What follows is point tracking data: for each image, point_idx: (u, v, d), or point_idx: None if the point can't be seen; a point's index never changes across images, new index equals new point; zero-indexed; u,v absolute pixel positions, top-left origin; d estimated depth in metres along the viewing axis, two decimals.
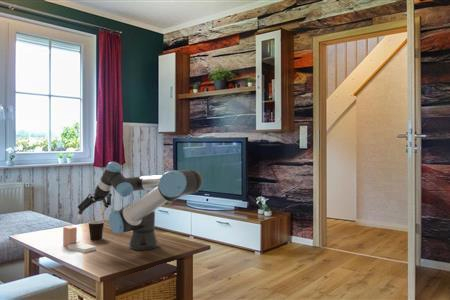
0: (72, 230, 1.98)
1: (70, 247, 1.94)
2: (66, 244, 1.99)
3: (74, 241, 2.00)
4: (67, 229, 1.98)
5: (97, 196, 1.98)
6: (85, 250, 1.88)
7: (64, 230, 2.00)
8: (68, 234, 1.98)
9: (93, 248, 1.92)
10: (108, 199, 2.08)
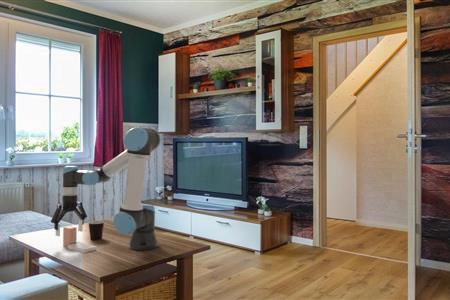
0: (72, 230, 1.98)
1: (70, 247, 1.94)
2: (66, 244, 1.99)
3: (74, 241, 2.00)
4: (67, 229, 1.98)
5: (66, 205, 1.97)
6: (85, 250, 1.88)
7: (64, 230, 2.00)
8: (68, 234, 1.98)
9: (93, 248, 1.92)
10: (81, 210, 2.06)
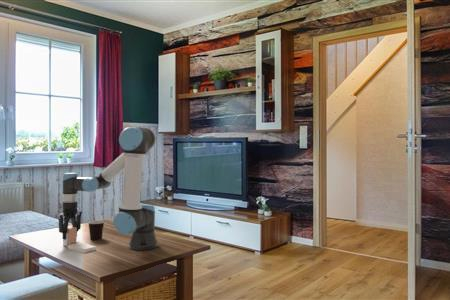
0: (72, 230, 1.98)
1: (70, 247, 1.94)
2: None
3: (74, 241, 2.00)
4: (67, 229, 1.98)
5: (66, 211, 1.97)
6: (85, 250, 1.88)
7: None
8: (68, 234, 1.98)
9: (93, 248, 1.92)
10: (78, 219, 2.04)
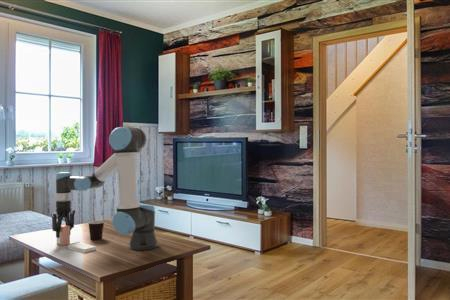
0: (65, 228, 2.02)
1: (70, 247, 1.94)
2: None
3: (67, 239, 2.03)
4: None
5: (59, 210, 2.01)
6: (85, 250, 1.88)
7: None
8: (61, 232, 2.01)
9: (93, 248, 1.92)
10: (71, 218, 2.07)
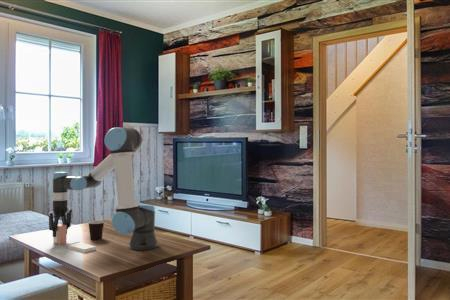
0: (62, 228, 2.04)
1: (70, 247, 1.94)
2: None
3: (64, 238, 2.05)
4: (57, 227, 2.03)
5: (56, 209, 2.02)
6: (85, 250, 1.88)
7: None
8: (58, 232, 2.03)
9: (93, 248, 1.92)
10: (68, 217, 2.09)
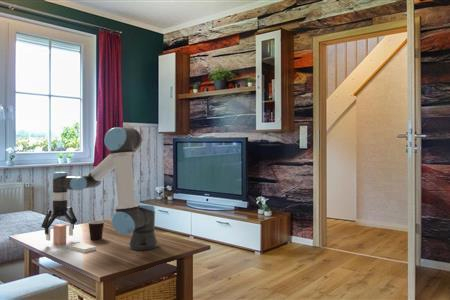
0: (62, 228, 2.04)
1: (70, 247, 1.94)
2: (56, 241, 2.04)
3: (64, 238, 2.05)
4: (57, 227, 2.04)
5: (56, 210, 2.03)
6: (85, 250, 1.88)
7: (54, 228, 2.05)
8: (58, 232, 2.03)
9: (93, 248, 1.92)
10: (71, 214, 2.11)
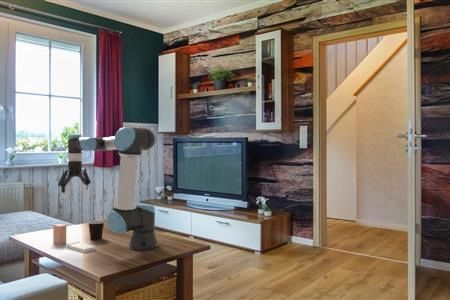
0: (62, 228, 2.04)
1: (70, 247, 1.94)
2: (56, 241, 2.04)
3: (64, 238, 2.05)
4: (57, 227, 2.04)
5: (72, 170, 2.12)
6: (85, 250, 1.88)
7: (54, 228, 2.05)
8: (58, 232, 2.03)
9: (93, 248, 1.92)
10: (85, 175, 2.21)
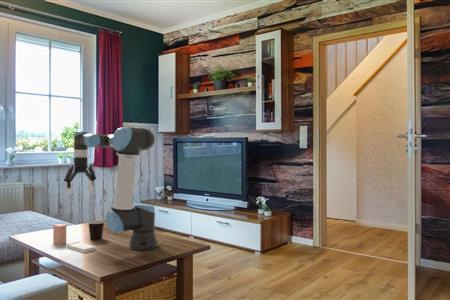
0: (62, 228, 2.04)
1: (70, 247, 1.94)
2: (56, 241, 2.04)
3: (64, 238, 2.05)
4: (57, 227, 2.04)
5: (77, 166, 2.17)
6: (85, 250, 1.88)
7: (54, 228, 2.05)
8: (58, 232, 2.03)
9: (93, 248, 1.92)
10: (91, 172, 2.25)
